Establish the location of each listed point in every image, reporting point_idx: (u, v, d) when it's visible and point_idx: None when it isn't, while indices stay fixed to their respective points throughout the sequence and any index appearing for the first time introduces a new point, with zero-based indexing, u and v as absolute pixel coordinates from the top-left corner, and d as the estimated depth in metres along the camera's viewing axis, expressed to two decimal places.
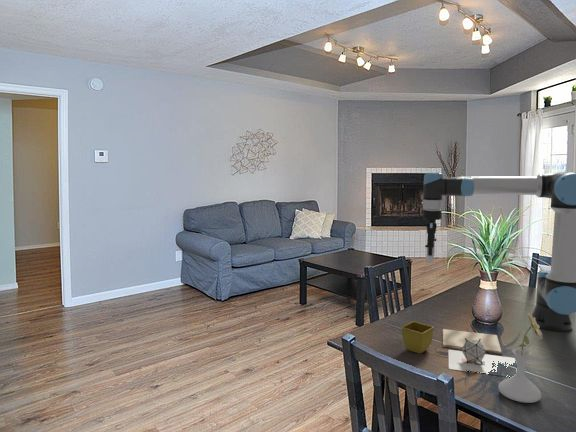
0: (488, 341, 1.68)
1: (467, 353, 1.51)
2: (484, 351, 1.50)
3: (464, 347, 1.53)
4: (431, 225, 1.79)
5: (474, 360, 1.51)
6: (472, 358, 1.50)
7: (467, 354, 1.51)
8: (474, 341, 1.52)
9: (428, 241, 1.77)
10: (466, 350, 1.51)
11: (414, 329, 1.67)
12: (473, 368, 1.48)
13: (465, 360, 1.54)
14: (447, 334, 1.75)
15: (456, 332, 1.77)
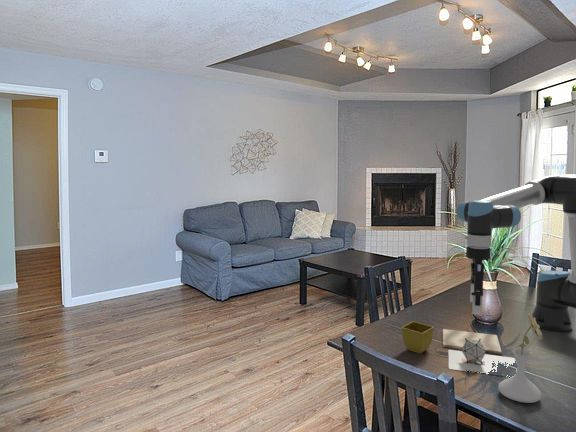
0: (488, 341, 1.68)
1: (467, 353, 1.51)
2: (484, 351, 1.50)
3: (464, 347, 1.53)
4: (479, 268, 1.42)
5: (474, 360, 1.51)
6: (472, 358, 1.50)
7: (467, 354, 1.51)
8: (474, 341, 1.52)
9: (476, 288, 1.41)
10: (466, 350, 1.51)
11: (414, 329, 1.67)
12: (473, 368, 1.48)
13: (465, 360, 1.54)
14: (447, 334, 1.75)
15: (456, 332, 1.77)
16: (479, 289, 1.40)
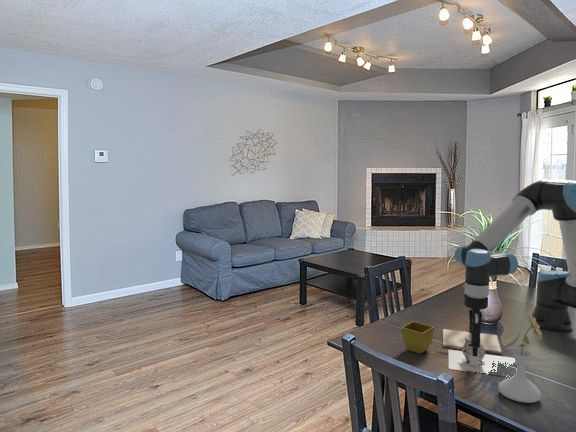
0: (488, 341, 1.68)
1: (467, 353, 1.50)
2: (484, 351, 1.50)
3: (464, 347, 1.53)
4: (477, 320, 1.45)
5: None
6: None
7: (467, 354, 1.51)
8: None
9: (473, 340, 1.45)
10: (466, 350, 1.51)
11: (414, 329, 1.67)
12: (473, 368, 1.48)
13: (465, 360, 1.54)
14: (447, 334, 1.75)
15: (456, 332, 1.77)
16: (476, 341, 1.44)
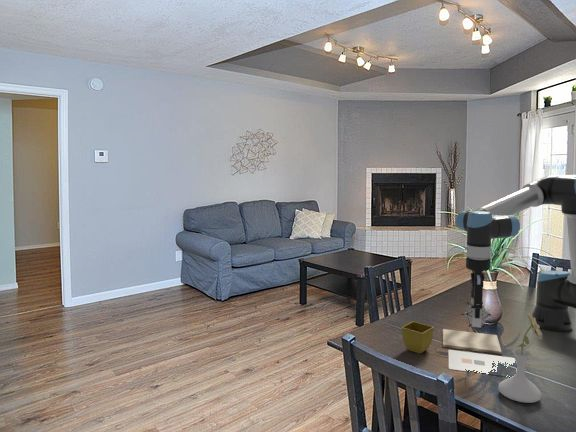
0: (488, 341, 1.68)
1: (469, 316, 1.49)
2: (486, 314, 1.48)
3: (466, 311, 1.51)
4: (479, 281, 1.43)
5: None
6: None
7: (469, 317, 1.49)
8: (476, 304, 1.51)
9: (475, 302, 1.43)
10: (468, 313, 1.49)
11: (414, 329, 1.67)
12: (473, 368, 1.48)
13: (465, 360, 1.54)
14: (447, 334, 1.75)
15: (456, 332, 1.77)
16: (479, 303, 1.43)
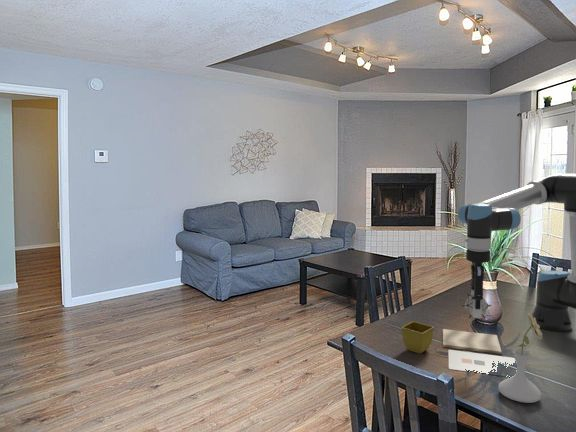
0: (488, 341, 1.68)
1: (470, 307, 1.51)
2: (487, 305, 1.50)
3: (466, 302, 1.53)
4: (479, 272, 1.45)
5: None
6: None
7: (470, 308, 1.51)
8: None
9: (476, 293, 1.45)
10: (469, 304, 1.51)
11: (414, 329, 1.67)
12: (473, 368, 1.48)
13: (465, 360, 1.54)
14: (447, 334, 1.75)
15: (456, 332, 1.77)
16: (479, 294, 1.45)
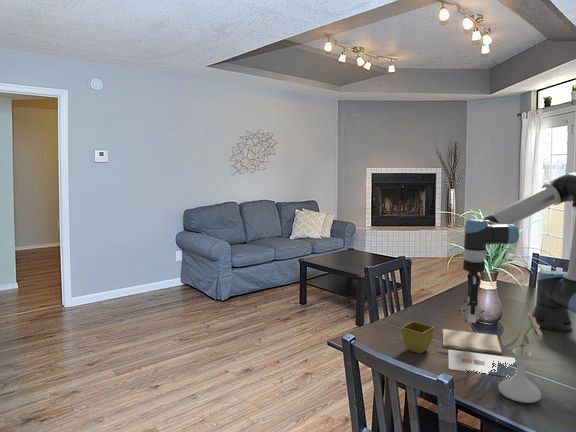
0: (488, 341, 1.68)
1: (465, 312, 1.66)
2: (481, 311, 1.66)
3: (463, 308, 1.68)
4: (474, 281, 1.60)
5: None
6: None
7: (465, 313, 1.66)
8: None
9: (471, 299, 1.60)
10: (464, 310, 1.66)
11: (414, 329, 1.67)
12: (473, 368, 1.48)
13: (465, 360, 1.54)
14: (447, 334, 1.75)
15: (456, 332, 1.77)
16: (474, 300, 1.60)
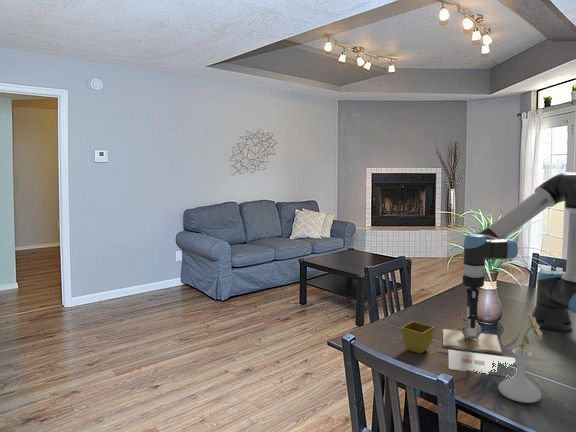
0: (488, 341, 1.68)
1: (465, 331, 1.67)
2: (480, 329, 1.67)
3: (462, 326, 1.70)
4: (474, 294, 1.61)
5: (471, 337, 1.68)
6: None
7: (465, 332, 1.68)
8: None
9: (471, 313, 1.59)
10: (464, 328, 1.68)
11: (414, 329, 1.67)
12: (473, 368, 1.48)
13: (465, 360, 1.54)
14: (447, 334, 1.75)
15: (456, 332, 1.77)
16: (474, 314, 1.59)
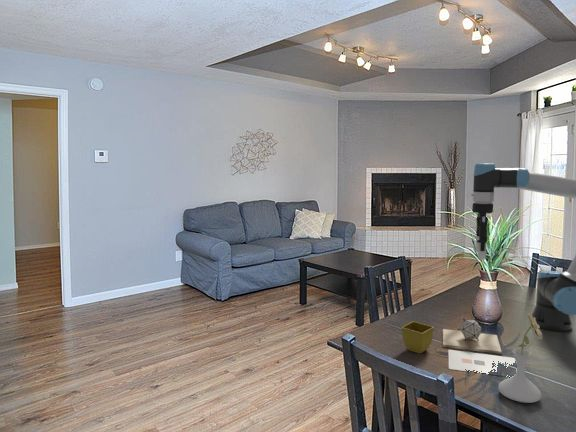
0: (488, 341, 1.68)
1: (465, 331, 1.67)
2: (480, 329, 1.67)
3: (462, 326, 1.70)
4: (484, 219, 1.68)
5: (471, 337, 1.68)
6: (470, 336, 1.67)
7: (465, 332, 1.68)
8: (471, 320, 1.69)
9: (481, 236, 1.66)
10: (464, 328, 1.68)
11: (414, 329, 1.67)
12: (473, 368, 1.48)
13: (465, 360, 1.54)
14: (447, 334, 1.75)
15: (456, 332, 1.77)
16: (484, 236, 1.66)
